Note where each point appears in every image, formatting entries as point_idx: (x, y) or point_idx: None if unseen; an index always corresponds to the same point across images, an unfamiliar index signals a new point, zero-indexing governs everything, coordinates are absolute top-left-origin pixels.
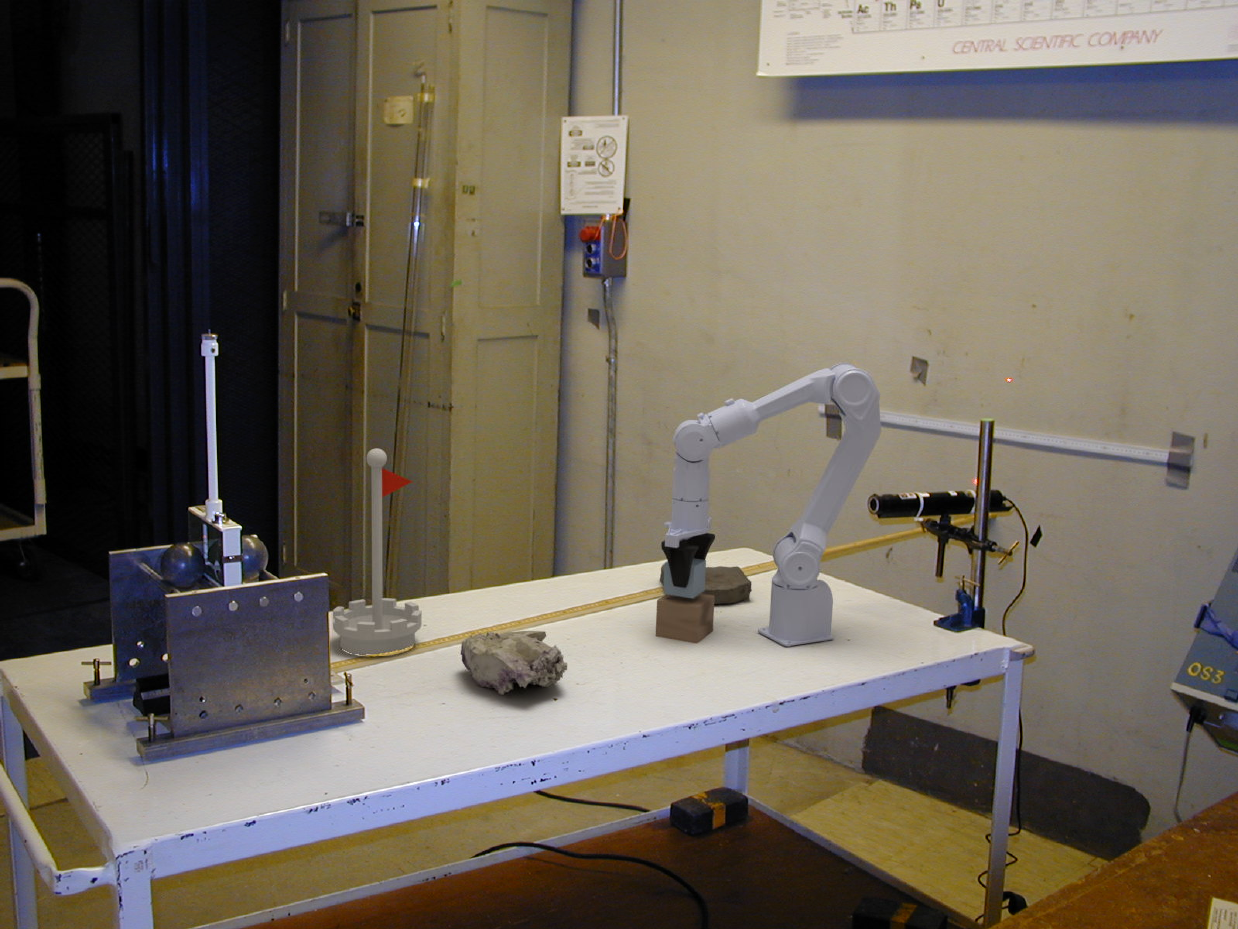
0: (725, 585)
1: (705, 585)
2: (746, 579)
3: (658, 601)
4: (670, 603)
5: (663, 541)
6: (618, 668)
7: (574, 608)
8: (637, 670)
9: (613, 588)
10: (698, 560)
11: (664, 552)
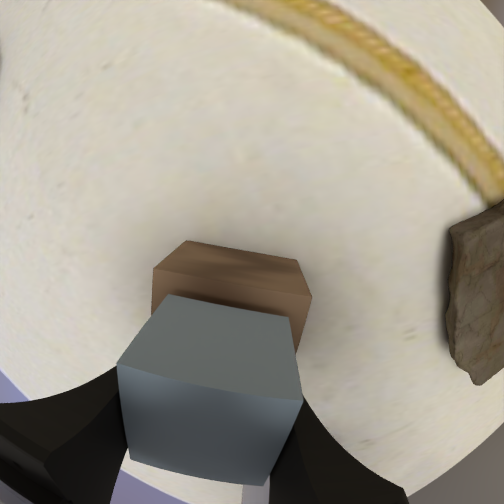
0: (475, 348)
1: (481, 308)
2: (491, 374)
3: (155, 272)
4: (151, 313)
5: (1, 440)
6: (14, 221)
7: (330, 9)
8: (19, 253)
9: (488, 87)
10: (246, 472)
11: (21, 404)
